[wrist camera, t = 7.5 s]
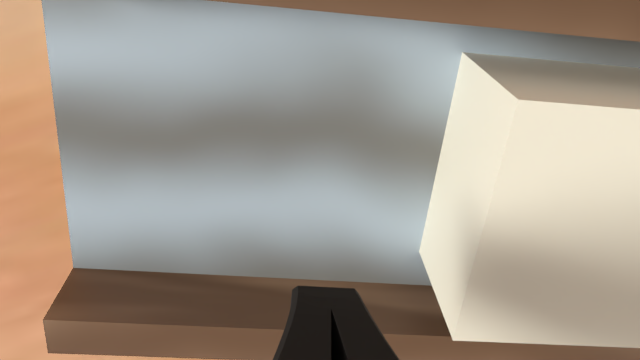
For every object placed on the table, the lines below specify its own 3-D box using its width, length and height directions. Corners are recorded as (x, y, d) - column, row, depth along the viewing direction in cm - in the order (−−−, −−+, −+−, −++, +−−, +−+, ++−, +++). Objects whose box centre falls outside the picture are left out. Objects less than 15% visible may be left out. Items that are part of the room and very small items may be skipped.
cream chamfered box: (608, 262, 23) (687, 350, 18) (419, 251, 22) (452, 340, 17) (685, 72, 19) (806, 123, 15) (462, 51, 18) (518, 99, 14)
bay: (616, 308, 25) (671, 375, 22) (85, 283, 23) (48, 353, 19) (754, -13, 19) (862, 7, 15) (44, -89, 17) (-21, -86, 13)
